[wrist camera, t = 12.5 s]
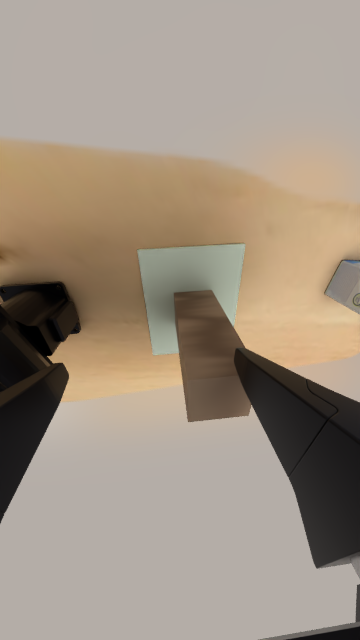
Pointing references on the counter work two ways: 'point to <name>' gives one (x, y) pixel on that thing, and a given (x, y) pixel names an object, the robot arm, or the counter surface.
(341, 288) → the medicine box
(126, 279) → the counter surface
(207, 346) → the walnut block
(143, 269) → the rubber mat
